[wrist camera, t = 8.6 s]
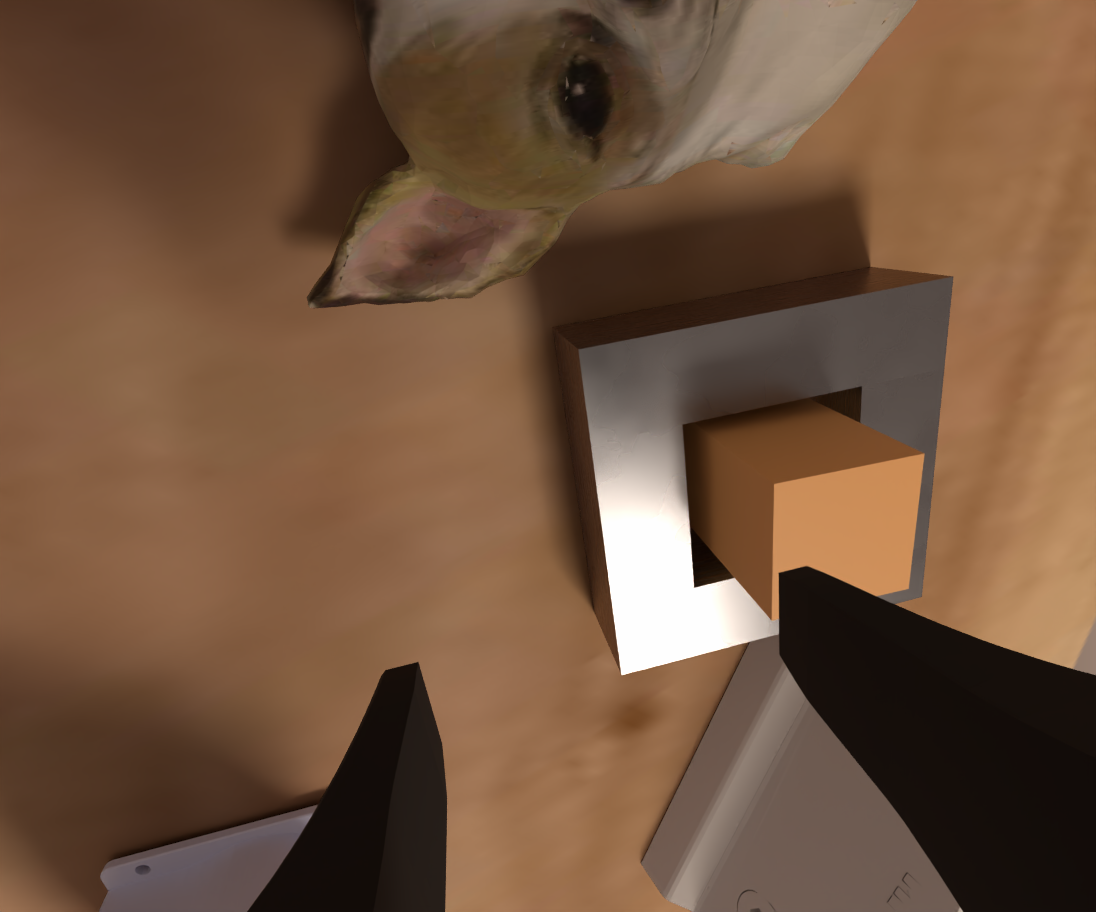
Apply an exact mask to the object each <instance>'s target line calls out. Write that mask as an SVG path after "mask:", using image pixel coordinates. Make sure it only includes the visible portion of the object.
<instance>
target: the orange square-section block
mask: <svg viewBox="0 0 1096 912" xmlns="http://www.w3.org/2000/svg"><path fill="white" fill-rule="evenodd" d="M682 425H683V440H684V454H685V468H686V482H687V496H688V510H689V524H690V527H691V528H692V529H693V530H694V531H695V532H696V534H697V535H698V536H699V537H700V538H701V539H702V541H703V542H704V543H705V544H706V545H707V546H708V548H709V549H710V550H711V551H712V552H713V553H714V555H715V556H716V557H717V558H718V559H719V560H720V561H721V563H722V564H723V565H724V566H725V567H726V568H727V570H728V571H729V572H730V573H731V574H732V575H733V577H734V578H735V579H736V580H737V581H738V582H739V583H740V585H741V586H742V587H743V588H744V589H745V590H746V592H747V593H748V594H749V595H750V596H751V597H752V599H753V600H754V601H755V602H756V603H757V604H758V606H759V607H760V608H761V609H762V610H763V611H764V612H765V614H766V615H767V616H768V617H769V618H770V619H771V621H773V620H777V619H779V573H780V572H784V571H788V570H792V569H796V568H800V567H804V566H809V567H811V568H814V569H816V570H819V571H821V572H824V573H826V574H828V575H831V576H833V577H835V578H837V579H840V580H842V581H844V582H846V583H848V584H851V585H853V586H855V587H857V588H859V589H862V590H864V591H866V592H868V593H870V594H873V595H875V596H880V595H884V594H889V593H893V592H897V591H902V590H906V589H909V581H910V573H911V564H912V556H913V547H914V539H915V530H916V522H917V513H918V505H919V496H920V488H921V479H922V471H923V462H924V454H925V453H922V452H920V451H918V450H916V449H914V448H912V447H910V446H908V445H906V444H903V443H901V442H899V441H897V440H895V439H893V438H891V437H889V436H887V435H885V434H882V433H880V432H878V431H876V430H874V429H872V428H870V427H868V426H866V425H864V424H861V423H859V422H857V421H855V420H853V419H851V418H849V417H847V416H845V415H842V414H840V413H838V412H836V411H834V410H832V409H830V408H828V407H826V406H824V405H821V404H819V403H817V402H815V401H813V400H811V399H809V398H804V399H800V400H795V401H790V402H785V403H781V404H776V405H771V406H767V407H762V408H757V409H753V410H748V411H743V412H739V413H734V414H729V415H725V416H720V417H715V418H711V419H706V420H701V421H696V422H692V423H687V424H682Z"/></svg>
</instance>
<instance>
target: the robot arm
mask: <svg viewBox="0 0 1096 912" xmlns="http://www.w3.org/2000/svg"><path fill="white" fill-rule="evenodd" d="M779 655H780V657H781V658H782V660H783V662H784V663H785V665H786V667H787V668H788V670H789V672H790V673H791V675H792V677H793V678H794V680H795V682H796V683H797V685H798V686H799V688H800V689H801V691H802V693H803V694H804V696H805V697H806V699H807V700H808V702H809V703H810V704H811V705H812V707H813V708H814V709H815V711H816V712H817V713H818V714H819V716H820V717H821V718H822V719H823V721H824V722H825V723H826V724H827V726H828V727H829V728H830V729H831V731H832V732H833V733H834V734H835V736H836V737H837V738H838V739H839V741H840V742H841V743H842V744H843V745H844V747H845V748H846V749H847V750H848V752H849V753H850V754H851V755H852V757H853V758H854V759H855V760H856V762H857V763H858V764H859V765H860V766H861V768H862V769H863V770H864V771H865V773H866V774H867V775H868V776H869V778H870V779H871V780H872V781H873V783H874V784H875V785H876V786H877V787H878V789H879V790H880V791H881V792H882V794H883V795H884V796H885V797H886V799H887V800H888V801H889V803H890V804H891V805H892V807H893V808H894V809H895V811H896V812H897V813H898V815H899V816H900V817H901V819H902V820H903V821H904V823H905V824H906V826H907V827H908V829H909V830H910V832H911V833H912V835H913V836H914V838H915V839H916V841H917V842H918V844H919V845H920V847H921V848H922V850H923V851H924V853H925V854H926V856H927V857H928V859H929V860H930V862H931V863H932V864H933V866H934V867H935V869H936V870H937V872H938V873H939V875H940V876H941V878H942V880H943V881H944V883H945V884H946V886H947V887H948V889H949V891H950V892H951V894H952V895H953V897H954V898H955V900H956V902H957V903H958V905H959V906H960V908H961V909H962V911H963V912H1096V675H1092V674H1089V673H1085V672H1081V671H1077V670H1074V669H1070V668H1067V667H1063V666H1060V665H1056V664H1053V663H1050V662H1046V661H1043V660H1040V659H1037V658H1034V657H1031V656H1028V655H1025V654H1022V653H1019V652H1015V651H1012V650H1009V649H1006V648H1003V647H1000V646H997V645H995V644H992V643H989V642H986V641H983V640H981V639H978V638H975V637H973V636H970V635H968V634H965V633H962V632H960V631H957V630H955V629H952V628H950V627H947V626H944V625H942V624H939V623H937V622H935V621H932V620H930V619H927V618H925V617H922V616H920V615H918V614H915V613H913V612H911V611H908V610H906V609H904V608H902V607H899V606H897V605H895V604H893V603H890V602H888V601H886V600H884V599H881V598H879V597H877V596H875V595H873V594H870V593H868V592H866V591H864V590H862V589H859V588H857V587H855V586H853V585H851V584H848V583H846V582H844V581H842V580H840V579H837V578H835V577H833V576H831V575H828V574H826V573H824V572H821V571H819V570H816V569H814V568H811V567H809V566H804V567H800V568H796V569H792V570H788V571H784V572H780V573H779ZM446 837H447V792H446V780H445V769H444V759H443V748H442V742H441V738H440V735H439V731H438V728H437V725H436V721H435V718H434V714H433V711H432V707H431V704H430V701H429V697H428V694H427V690H426V687H425V683H424V680H423V676H422V673H421V670H420V666H419V663H418V662H417V663H413V664H409V665H405V666H400V667H396V668H392V669H388V670H385V672H384V673H383V674H382V676H381V678H380V680H379V683H378V685H377V688H376V690H375V692H374V695H373V697H372V699H371V702H370V704H369V706H368V708H367V711H366V713H365V715H364V717H363V719H362V722H361V724H360V726H359V728H358V730H357V732H356V734H355V736H354V738H353V740H352V742H351V744H350V746H349V748H348V750H347V752H346V754H345V756H344V758H343V760H342V762H341V764H340V766H339V768H338V770H337V772H336V774H335V776H334V777H333V779H332V781H331V783H330V785H329V786H328V788H327V790H326V792H325V793H324V795H323V797H322V799H321V800H320V802H319V804H318V805H315V806H311V807H307V808H304V809H300V810H296V811H292V812H289V813H285V814H281V815H278V816H274V817H270V818H266V819H263V820H259V821H255V822H252V823H248V824H244V825H240V826H237V827H233V828H229V829H226V830H222V831H218V832H215V833H211V834H207V835H203V836H200V837H196V838H192V839H189V840H185V841H181V842H177V843H174V844H170V845H166V846H163V847H159V848H155V849H152V850H148V851H144V852H140V853H137V854H133V855H129V856H126V857H122V858H118V859H114V860H112V861H110V862H108V863H107V864H106V865H105V866H104V868H103V871H102V873H101V875H100V878H101V881H102V882H103V884H104V885H105V887H106V888H107V890H108V893H107V895H106V897H105V899H104V901H103V903H102V906H101V908H100V910H99V912H445V890H446Z"/></svg>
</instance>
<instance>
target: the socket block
mask: <svg viewBox="0 0 1096 912" xmlns="http://www.w3.org/2000/svg"><path fill="white" fill-rule="evenodd" d="M952 285H953V276H944V275H936V274H927V273H918V272H910V271H901V270H893V269H884V268H876V267H869V268H864V269H858V270H853V271H848V272H842V273H837V274H832V275H827V276H821V277H816V278H811V279H805V280H800V281H795V282H790V283H784V284H779V285H774V286H768V287H763V288H758V289H753V290H747V291H742V292H737V293H731V294H726V295H721V296H716V297H710V298H705V299H700V300H694V301H689V302H684V303H679V304H673V305H668V306H663V307H657V308H652V309H647V310H642V311H636V312H631V313H626V314H620V315H615V316H610V317H605V318H599V319H594V320H589V321H583V322H578V323H573V324H568V325H562V326H557V327H553V334H554V341H555V347H556V354H557V361H558V368H559V375H560V381H561V388H562V395H563V402H564V409H565V415H566V422H567V429H568V436H569V443H570V449H571V456H572V463H573V470H574V477H575V483H576V490H577V497H578V504H579V510H580V517H581V524H582V531H583V538H584V544H585V551H586V558H587V565H588V572H589V578H590V585H591V592H592V599H593V606H594V612H595V615H596V617H597V620H598V622H599V624H600V627H601V629H602V631H603V633H604V636H605V638H606V640H607V643H608V645H609V647H610V649H611V652H612V654H613V656H614V659H615V661H616V663H617V665H618V668H619V670H620V672H621V675H624V674H627V673H631V672H635V671H639V670H643V669H647V668H650V667H654V666H658V665H662V664H666V663H670V662H674V661H677V660H681V659H685V658H689V657H693V656H697V655H700V654H704V653H708V652H712V651H716V650H720V649H723V648H727V647H731V646H735V645H739V644H743V643H747V642H750V641H754V640H758V639H762V638H766V637H770V636H773V635H777V634H779V619H777V620H773V621H771V619H770V618H769V617H768V616H767V615H766V614H765V612H764V611H763V610H762V609H761V608H760V607H759V606H758V604H757V603H756V602H755V601H754V600H753V599H752V597H751V596H750V595H749V594H748V593H747V592H746V590H745V589H744V588H743V587H742V586H741V585H740V583H739V582H738V581H737V580H736V579H735V578H734V577H733V575H732V574H731V573H730V572H729V571H728V570H727V568H726V567H725V566H724V565H723V564H722V563H721V561H720V560H719V559H718V558H717V557H716V556H715V555H714V553H713V552H712V551H711V550H710V549H709V548H708V546H707V545H706V544H705V543H704V542H703V541H702V539H701V538H700V537H699V536H698V535H697V534H696V532H695V531H694V530H693V529H692V528H690V524H689V510H688V496H687V482H686V468H685V454H684V440H683V425H682V424H687V423H692V422H696V421H701V420H706V419H711V418H715V417H720V416H725V415H729V414H734V413H739V412H743V411H748V410H753V409H757V408H762V407H767V406H771V405H776V404H781V403H785V402H790V401H795V400H800V399H804V398H809V399H811V400H813V401H815V402H817V403H819V404H821V405H824V406H826V407H828V408H830V409H832V410H834V411H836V412H838V413H840V414H842V415H845V416H847V417H849V418H851V419H853V420H855V421H857V422H859V423H861V424H864V425H866V426H868V427H870V428H872V429H874V430H876V431H878V432H880V433H882V434H885V435H887V436H889V437H891V438H893V439H895V440H897V441H899V442H901V443H903V444H906V445H908V446H910V447H912V448H914V449H916V450H918V451H920V452H922V453H925V454H924V462H923V471H922V479H921V488H920V496H919V505H918V513H917V522H916V530H915V539H914V547H913V556H912V564H911V573H910V581H909V589H906V590H902V591H897V592H893V593H889V594H884V595H880V596H877V597H879V598H881V599H884V600H886V601H888V602H890V603H893V604H896V603H900V602H904V601H908V600H912V599H916V598H919V597H922V589H923V579H924V568H925V558H926V548H927V538H928V528H929V518H930V508H931V498H932V487H933V477H934V467H935V457H936V447H937V437H938V427H939V417H940V406H941V396H942V386H943V376H944V366H945V356H946V346H947V335H948V325H949V315H950V305H951V295H952Z"/></svg>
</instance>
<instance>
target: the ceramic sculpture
mask: <svg viewBox="0 0 1096 912" xmlns="http://www.w3.org/2000/svg"><path fill="white" fill-rule="evenodd" d="M916 1H917V0H353V2H354V11H355V19H356V26H357V30H358V34H359V38H360V41H361V45H362V49H363V52H364V56H365V60H366V63H367V67H368V71H369V74H370V78H371V81H372V84H373V87H374V90H375V93H376V96H377V99H378V101H379V104H380V106H381V108H382V110H383V112H384V114H385V116H386V119H387V121H388V123H389V125H390V127H391V129H392V130H393V131H394V133H395V134H396V135H397V137H398V138H399V139H400V141H401V142H402V143H403V145H404V147H405V148H406V150H407V152H408V153H409V155H410V156H409V161H408V162H407V163H405V164H403V165H400V166H397V167H394V168H392V169H390V170H389V171H388V172H387V173H385V174H384V175H383V176H381V177H380V178H378V179H376V180H374V181H373V182H371V183H370V184H369V185H368V186H367V187H366V188H365V189H364V190H363V191H362V193H361V194H360V195H359V196H358V197H357V199H356V201H355V204H354V206H353V209H352V211H351V214H350V216H349V219H348V221H347V224H346V226H345V229H344V231H343V233H342V236H341V238H340V241H339V244H338V246H337V249H336V251H335V254H334V256H333V259H332V261H331V264H330V265H329V267H328V268H327V269H326V271H325V272H324V273H323V274H322V276H321V277H320V278H319V280H318V281H317V282H316V284H315V285H314V287H313V288H312V290H311V292H310V293H309V295H308V296H307V300H308V305H309V307H311V308H326V307H339V306H347V305H354V304H360V303H369V304H376V305H383V304H395V303H411V302H423V301H426V302H431V301H435V300H438V299H454V298H472V297H473V296H475V295H477V294H478V293H480V292H481V291H483V290H484V289H486V288H487V287H489V286H492V285H494V284H496V283H499V282H501V281H504V280H506V279H510V278H514V277H518V276H523V275H524V274H525V273H526V272H527V271H528V270H529V269H530V268H531V267H532V266H533V265H534V264H535V263H536V262H537V261H538V260H539V259H540V258H541V257H542V256H543V255H544V254H545V253H546V252H547V251H548V250H549V249H550V248H551V247H552V246H553V245H554V244H555V243H556V241H557V239H558V237H559V236H560V234H561V232H562V230H563V228H564V226H565V224H566V222H567V220H568V218H569V217H570V216H571V215H572V214H573V212H574V211H575V210H576V209H577V208H578V206H579V205H581V204H582V203H584V202H587V201H589V200H591V199H592V198H594V197H596V196H597V195H600V194H602V193H604V192H607V191H609V190H615V189H626V188H633V187H641V186H647V185H653V184H659V183H662V182H664V181H665V180H667V179H668V178H669V177H670V176H672V175H673V174H674V173H676V172H681V171H683V170H685V169H687V168H689V167H691V166H693V165H695V164H697V163H700V162H704V161H708V160H714V159H716V160H719V161H722V162H724V163H727V164H741V165H744V166H747V167H750V168H757V167H762V166H768V165H771V164H773V163H775V162H777V161H780V160H782V159H784V158H785V156H786V155H787V154H788V152H789V151H790V150H791V148H792V147H793V146H794V144H795V143H796V141H797V140H798V139H799V137H800V136H801V135H802V134H803V133H804V132H805V131H806V130H807V129H808V128H809V127H810V126H811V125H812V124H814V123H815V122H816V121H817V120H818V119H819V118H820V117H821V116H822V115H823V114H824V113H825V112H826V111H827V110H828V109H829V108H830V107H831V106H832V105H833V104H834V103H835V102H836V100H837V99H838V98H839V97H840V96H841V94H842V93H843V92H844V91H845V90H846V88H847V87H848V86H849V85H850V84H851V82H852V81H853V80H854V79H855V77H856V76H857V75H858V74H859V72H860V71H861V70H862V68H863V67H864V66H865V64H866V63H867V62H868V60H869V59H870V58H871V57H872V55H873V54H874V53H875V52H876V51H877V49H878V48H879V47H880V46H881V45H882V43H883V42H884V41H885V40H886V39H887V38H888V36H889V35H890V34H891V33H892V32H893V31H894V29H895V28H896V27H897V26H898V25H899V23H900V22H901V21H902V20H903V19H904V17H905V16H906V15H907V14H908V12H909V11H910V10H911V9H912V7H913V6H914V4H915V3H916Z"/></svg>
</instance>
